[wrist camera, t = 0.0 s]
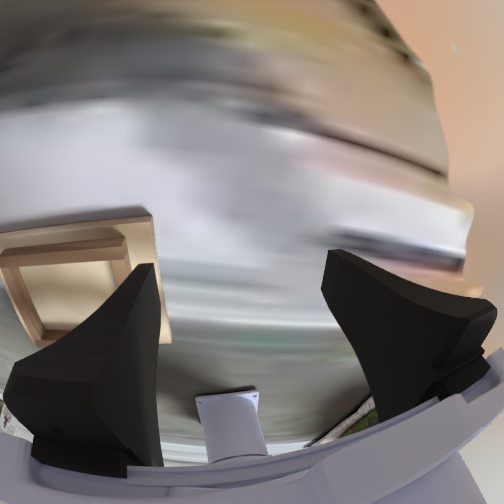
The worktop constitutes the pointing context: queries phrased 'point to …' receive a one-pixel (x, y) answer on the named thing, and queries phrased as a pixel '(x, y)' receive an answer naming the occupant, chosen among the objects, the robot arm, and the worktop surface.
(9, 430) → the coffee box
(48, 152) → the worktop surface
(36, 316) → the tray
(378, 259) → the worktop surface
